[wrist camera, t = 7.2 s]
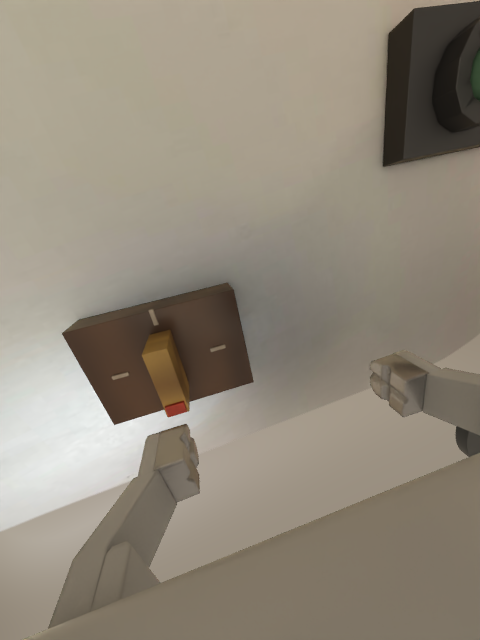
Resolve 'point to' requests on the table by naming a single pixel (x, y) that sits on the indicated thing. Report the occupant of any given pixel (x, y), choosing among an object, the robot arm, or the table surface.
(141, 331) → the plate
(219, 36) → the table surface
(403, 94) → the green mushroom switch plate
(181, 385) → the thumb turn
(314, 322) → the table surface
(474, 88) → the release button
